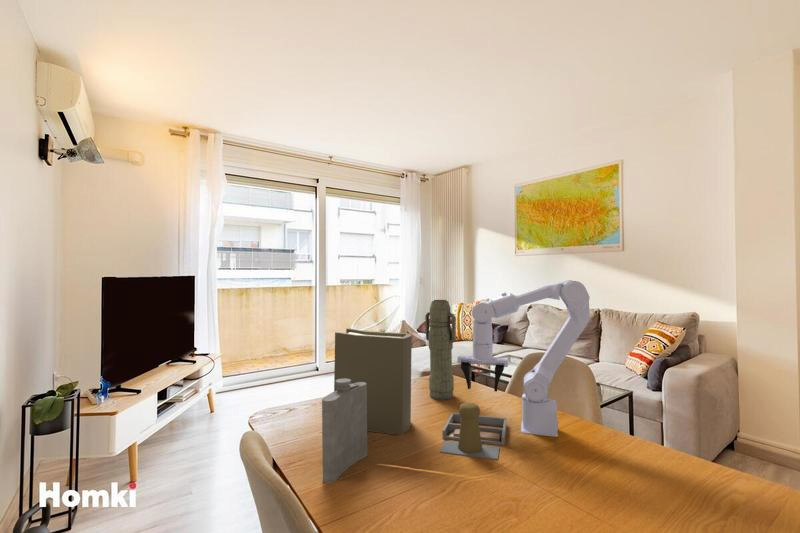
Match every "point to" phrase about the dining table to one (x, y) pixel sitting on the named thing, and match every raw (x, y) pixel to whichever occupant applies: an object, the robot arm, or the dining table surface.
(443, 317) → the thermos
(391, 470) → the dining table surface
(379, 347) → the book
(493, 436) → the top offcut
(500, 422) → the rack
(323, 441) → the hip flask
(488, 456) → the slate mat
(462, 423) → the cork
